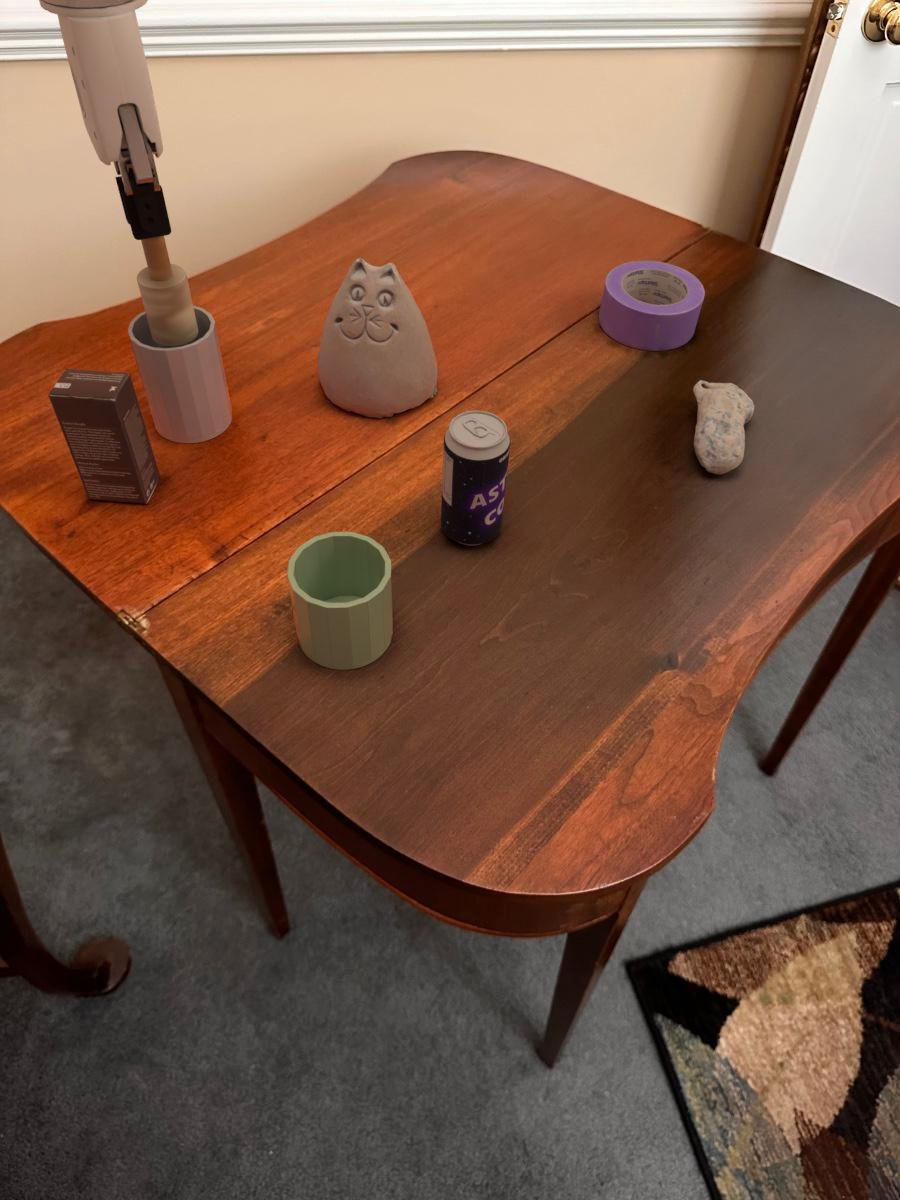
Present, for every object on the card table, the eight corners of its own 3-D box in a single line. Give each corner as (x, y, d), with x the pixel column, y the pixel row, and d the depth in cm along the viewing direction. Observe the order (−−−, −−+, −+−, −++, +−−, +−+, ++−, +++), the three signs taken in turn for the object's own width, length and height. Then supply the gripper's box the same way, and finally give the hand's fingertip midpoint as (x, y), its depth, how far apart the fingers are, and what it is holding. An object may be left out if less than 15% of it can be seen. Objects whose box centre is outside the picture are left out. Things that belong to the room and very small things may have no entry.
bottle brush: (157, 350, 82) (111, 177, 70) (147, 326, 84) (102, 155, 72) (203, 340, 83) (167, 169, 71) (192, 317, 86) (155, 147, 73)
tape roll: (697, 355, 102) (708, 317, 98) (598, 346, 103) (605, 308, 99) (691, 302, 110) (701, 264, 106) (598, 293, 110) (605, 256, 106)
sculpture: (335, 430, 91) (324, 300, 79) (308, 367, 98) (294, 239, 86) (451, 407, 94) (456, 278, 83) (416, 347, 101) (416, 221, 90)
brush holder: (315, 682, 70) (306, 620, 64) (285, 612, 75) (274, 547, 69) (407, 651, 72) (406, 588, 66) (372, 585, 77) (369, 520, 71)
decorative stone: (755, 486, 87) (771, 447, 83) (688, 478, 88) (701, 438, 84) (746, 406, 96) (760, 367, 92) (685, 399, 96) (697, 360, 92)
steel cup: (163, 451, 88) (137, 358, 79) (147, 405, 93) (120, 312, 84) (241, 432, 90) (223, 340, 82) (221, 388, 95) (202, 296, 86)
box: (162, 474, 86) (131, 371, 76) (147, 506, 83) (114, 402, 73) (102, 469, 86) (64, 365, 77) (85, 500, 83) (44, 396, 74)
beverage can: (467, 560, 79) (474, 459, 70) (428, 525, 82) (430, 424, 73) (512, 533, 82) (525, 432, 73) (473, 500, 85) (481, 399, 75)
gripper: (19, -50, 65) (89, 196, 79) (50, 17, 56) (123, 281, 70) (121, -57, 67) (172, 183, 81) (167, 6, 58) (215, 264, 72)
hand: (149, 227), depth 76 cm, fingers closed on bottle brush, 2 cm apart
